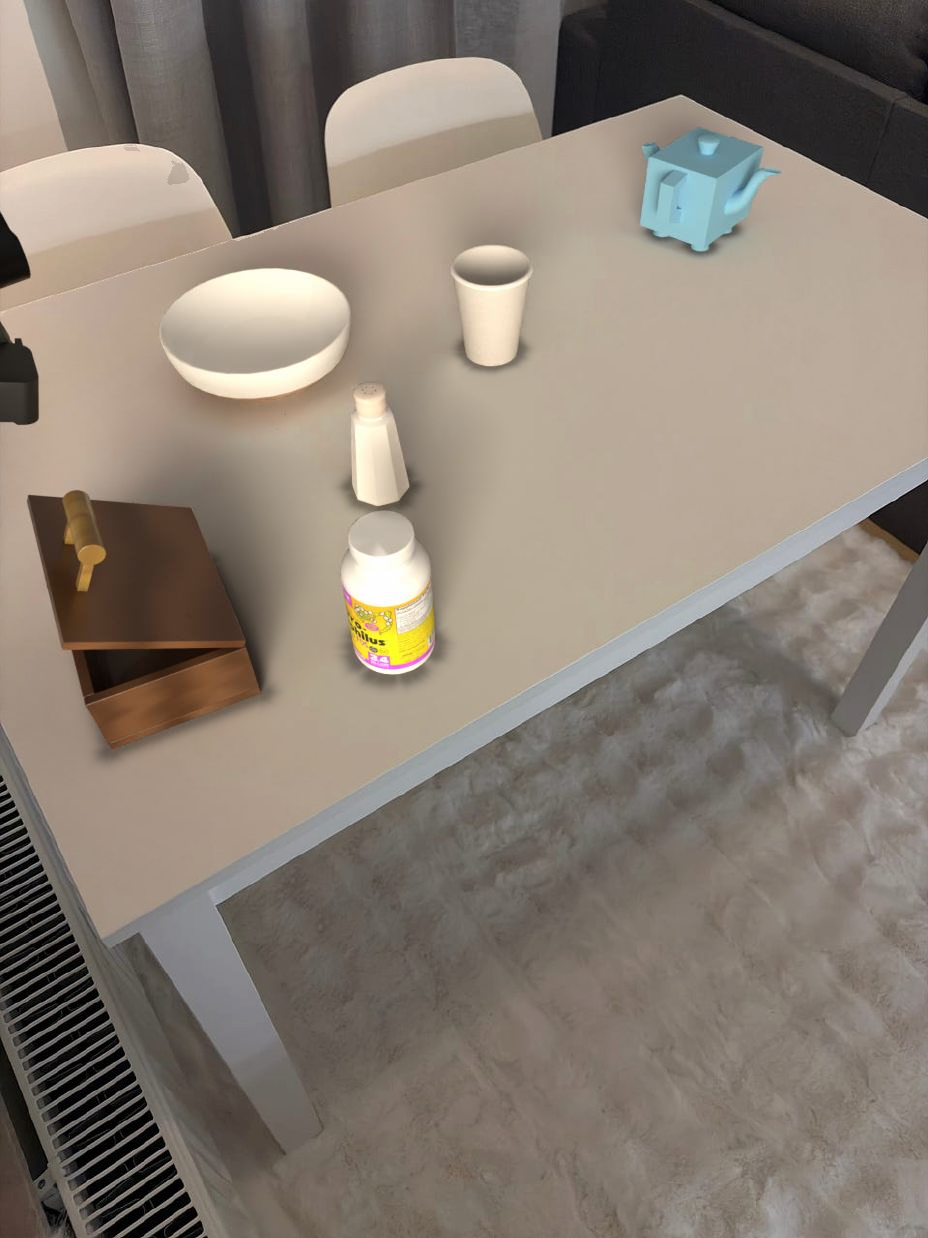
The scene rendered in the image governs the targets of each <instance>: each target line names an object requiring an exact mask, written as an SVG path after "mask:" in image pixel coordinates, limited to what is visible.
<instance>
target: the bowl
mask: <svg viewBox="0 0 928 1238" xmlns="http://www.w3.org/2000/svg"><path fill="white" fill-rule="evenodd" d="M351 329H352V311H351V304H350V301H349V300H348V298H347V296H346V294H345V293H344V292H343V291H342V290H341V289H340V288H339V287H338V286H337V285H335V284H334V283H333V282H331V281H329V280H327V279H326V278H325V277H322V276H319V275H316V274H315V273H311V272H307V271H303V270H299V269H291V268H285V267H283V268H282V267H261V268H249V269H243V270H238V271H233V272H229V273H225V274H222V275H219V276H215V277H212V278H209V279H208V280H205V281H203V282H200V283H199V284H197V285H195V286H193V287H191V288H190V289H188V290H186V291H185V292H183V293H182V294H181V295H179V297H177V298H176V299H175V300H174V301H172V303H171V304H170V305H169V307H167V309H166V310H165V311H164V313H163V316H162V318H161V320H160V323H159V331H158V335H159V341H160V342H161V346H162V348H163V350H164V352H165V355H166V356H167V359H168V360H169V361H170V363H171V364H172V366H173V367H174V368H175V370H176V371H177V372H178V373H179V374H180V376H181V377H182V379H184V380H185V381H187V383H189V384H190V385H191V386H193V387H194V388H197V389H198V390H200V391H202V392H204V393H207V394H208V393H209V394H211V395H214V396H217V397H220V398H224V399H227V400H232V401H238V402H264V401H266V402H267V401H274V400H277V399H282V398H286V397H289V396H293V395H295V394H297V393H301V392H302V391H305V390H307V389H309V388H310V387H312V386H314V385H315V384H316V383H318V382H320V380H322V379H323V378H324V377H325V376H326V375H327V374H329V373H330V372H331V371H332V370H334V369H335V368H336V366H337V365H338V364H339V363H340V362H341V360H342V358H343V356H344V354H345V353H346V351H347V346H348V344H349V339H350V335H351V331H352V330H351Z"/></svg>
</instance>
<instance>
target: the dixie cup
mask: <svg viewBox="0 0 928 1238" xmlns="http://www.w3.org/2000/svg"><path fill="white" fill-rule="evenodd" d="M449 270H450V273H451V276H452V277H453V283H454V289H455V295H456V302H457V308H458V313H459V321H460V327H461V333H462V339H463V346H464V352H465V355H466V357H467V358H468V359H469V360H470V362H472V363H474V364H477V365H480V366H485V367H496V366H497V367H498V366H502V365H506V364H508V363H510V362H511V361H513V360H514V359H515V358H516V356H517V354H518V350H519V344H520V339H521V331H522V325H523V320H524V314H525V308H526V302H527V297H528V291H529V286H530V285H529V284H530V280H531V276H532V275H533V272H534V262H533V261H532V259H531V258H530V257H529V255H527V254H526V253H525V252H523V251H522V250H520V249H519V248H515V247H513V246H509V245H503V244H481V245H477V246H472V247H470V248H469V247H468V248H467V249H465V250H463V251H461V252H460V253H458V254H457V255H456V256H455V257H454V258H453V259H452V260H451V263H450V267H449Z"/></svg>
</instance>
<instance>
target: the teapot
mask: <svg viewBox="0 0 928 1238" xmlns="http://www.w3.org/2000/svg"><path fill="white" fill-rule="evenodd" d="M641 149H642V151H643V154H644V157H645V161H646V163H647V168H646V177H645V184H644V191H643V199H642V207H641V212H640V213H641V214H640V221H639V226H641V227H643V228H646V229H649V230H652V234H653V236H656V237H659V238H665V237H671V238H674V239H676V240H679V241H682V242H685V243H687V244H689V245H690V248H691V249H692V250H693V251H696V252H706V251H708V250H709V249H710V245H711V244H712V243H713V242H715V241H716V240H718V239H719V238H720V237H721V236H723V235H726V234H727V235H728V234H730V233H732V232H733V227H734V226H736V225H738V223H741V222H742V221H743V220H744V219H745V218H747V217H749V215H750V211H751V207H752V203H753V200H754V198H755V197H756V195H757V193H758V191H759V190H760V187H761V186H762V184H763V182H765V180H767V179H768V178H770V177H772V176H776V175H780V174H782V171H781V170H779V169H778V168H774V167H761V162H762V158H763V153H764V149H765V148H764V146H762V145H759V144H755V143H752V142H749V141H746V140H743V139H739V138H737V137H735V136H731V135H726V134H723V133H720V132H717V131H713V130H709V129H706V128H703V127H700V126H696V127H694V128H693V129H691V130H690V131H688V132H687V133H685V134H683V135H681V136H680V137H679V138H677V139H675V140H674V141H672V142H671V143H669V144H667V145H666V146H665V147H663V148H660V147H659V146H658V142H646V143H645V144H643V145H641ZM760 167H761V168H760Z"/></svg>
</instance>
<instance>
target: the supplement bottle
mask: <svg viewBox="0 0 928 1238" xmlns="http://www.w3.org/2000/svg"><path fill="white" fill-rule="evenodd" d="M347 542H348V548H347V550H346V552H344V555H343V557H342V559H341V563H340V570H339V571H340V579H341V586H342V590H343V595H344V596H343V597H344V602H345V608H346V613H347V618H348V624H349V628H350V629H349V631H350V636H351V641H352V645H353V649H354V650H353V651H354V653H355V655H356V656H357V658H358V659H359V661H360V662H361V663H362V664H363V665H364V666H365V667H367V668H368V669H370V670H372V671H373V672H376V673H380V674H386V675H400V674H406V673H408V672H411V671H413V670H415V669H417V668H419V667H420V666H422V665H423V664H424V663H425V662H426V661H427V660H428V659H429V658H430V656H431V654H432V652H433V651H434V648H435V644H436V625H435V611H434V595H433V580H432V567H431V560H430V556H429V553H428V551H427V550H426V549H425V547H424V546H423V545H422V544H421V543H420V542H419V541H418V540H416V535H415V528H414V526H413V523H412V522H411V521H410V520H409V518H407V517H406V516H405V515H403V514H401V513H400V512H396V511H393V510H376V511H371V512H367V513H365V514H364V515H361V516H360V517H358V518H357V519H355V521H354V522H353V523H352V525H351V526H350V527H349V529H348V533H347Z"/></svg>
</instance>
